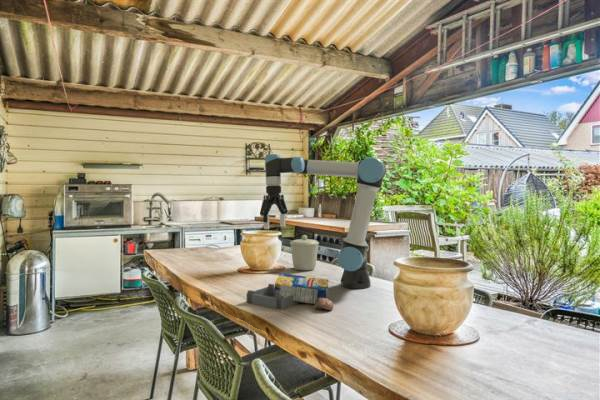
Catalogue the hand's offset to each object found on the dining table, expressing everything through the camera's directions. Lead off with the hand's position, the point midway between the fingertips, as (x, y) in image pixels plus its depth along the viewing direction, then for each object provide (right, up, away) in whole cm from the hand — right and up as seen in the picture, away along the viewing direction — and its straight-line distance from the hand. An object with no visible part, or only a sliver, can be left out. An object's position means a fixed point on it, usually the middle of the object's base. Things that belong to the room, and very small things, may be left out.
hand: (274, 227), depth 205 cm
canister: (+15, -29, +47) cm, 57 cm away
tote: (+2, -30, -26) cm, 40 cm away
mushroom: (+18, -30, -38) cm, 51 cm away
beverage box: (+2, -23, -26) cm, 35 cm away
